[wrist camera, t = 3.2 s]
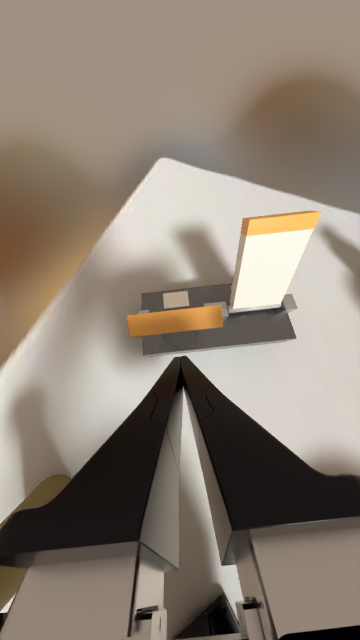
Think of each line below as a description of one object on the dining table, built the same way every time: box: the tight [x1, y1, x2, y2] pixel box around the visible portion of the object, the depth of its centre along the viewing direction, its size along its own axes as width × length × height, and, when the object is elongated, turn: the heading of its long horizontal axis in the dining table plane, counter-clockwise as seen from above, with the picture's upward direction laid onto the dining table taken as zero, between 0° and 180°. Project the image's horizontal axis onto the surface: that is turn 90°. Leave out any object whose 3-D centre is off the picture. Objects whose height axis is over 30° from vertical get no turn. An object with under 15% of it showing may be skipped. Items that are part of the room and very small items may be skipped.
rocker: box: [127, 305, 223, 337], centre depth 14 cm, size 1×7×10 cm, turn 96°
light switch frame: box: [138, 284, 297, 357], centre depth 21 cm, size 9×20×5 cm, turn 96°
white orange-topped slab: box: [227, 211, 321, 313], centre depth 16 cm, size 1×7×10 cm
